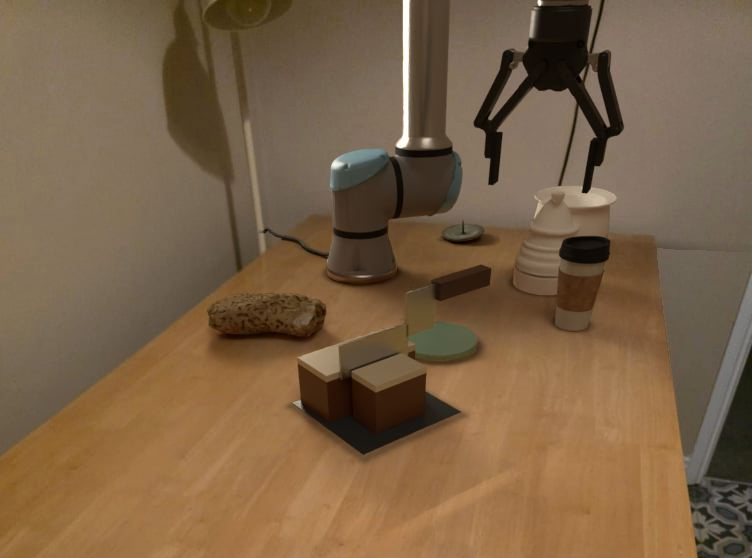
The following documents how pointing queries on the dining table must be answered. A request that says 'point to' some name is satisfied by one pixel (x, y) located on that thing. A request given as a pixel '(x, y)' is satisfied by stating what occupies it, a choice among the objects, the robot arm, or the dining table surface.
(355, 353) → the square cleaver
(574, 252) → the coffee cup
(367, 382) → the cake slice
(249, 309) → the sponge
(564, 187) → the pot
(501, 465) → the dining table surface
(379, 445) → the cake board
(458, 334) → the serving plate
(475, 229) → the lid
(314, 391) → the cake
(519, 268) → the honey pot
